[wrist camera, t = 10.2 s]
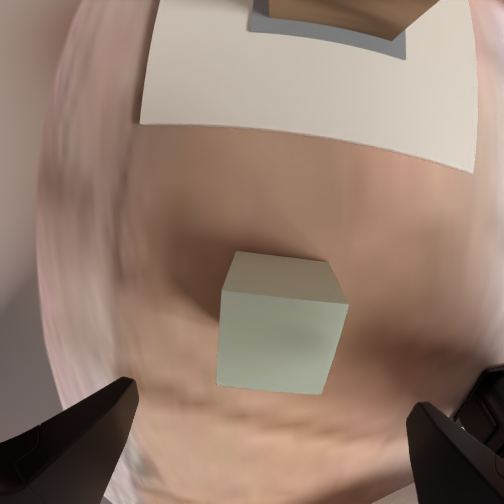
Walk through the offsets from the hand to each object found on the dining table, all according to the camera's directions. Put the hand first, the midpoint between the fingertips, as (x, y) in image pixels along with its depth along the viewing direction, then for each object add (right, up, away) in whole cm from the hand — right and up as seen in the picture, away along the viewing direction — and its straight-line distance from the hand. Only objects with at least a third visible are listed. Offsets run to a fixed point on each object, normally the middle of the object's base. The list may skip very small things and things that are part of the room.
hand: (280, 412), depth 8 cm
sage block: (0, +2, +7) cm, 8 cm away
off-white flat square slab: (+3, +17, +2) cm, 18 cm away
